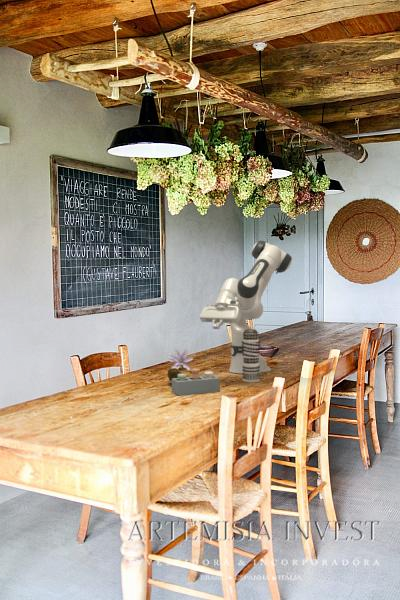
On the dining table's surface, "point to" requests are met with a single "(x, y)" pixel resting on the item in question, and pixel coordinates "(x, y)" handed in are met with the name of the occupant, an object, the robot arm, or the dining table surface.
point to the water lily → (180, 359)
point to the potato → (173, 373)
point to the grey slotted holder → (195, 385)
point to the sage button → (182, 377)
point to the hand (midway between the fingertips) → (215, 328)
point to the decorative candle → (250, 356)
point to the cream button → (208, 374)
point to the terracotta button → (195, 373)
